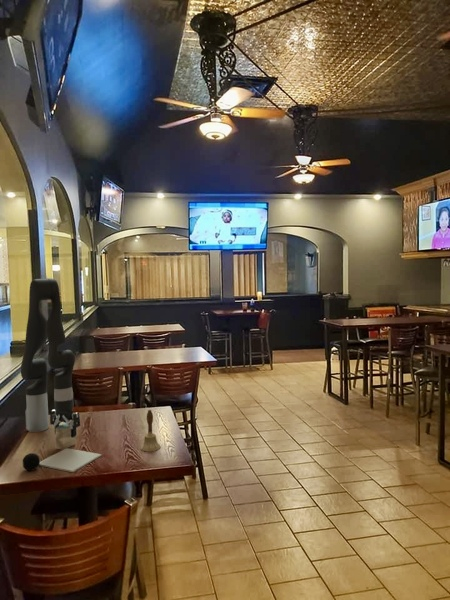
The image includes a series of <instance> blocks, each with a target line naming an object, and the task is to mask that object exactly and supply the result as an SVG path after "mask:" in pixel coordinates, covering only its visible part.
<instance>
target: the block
mask: <svg viewBox="0 0 450 600" xmlns="http://www.w3.org/2000/svg"><path fill="white" fill-rule="evenodd" d="M72 425H73V424H72ZM55 430H56V435H55V446H56V447H55V448H56V449H57V450H61V451H62V450H64V449H66V448H68V449H69V448H71V447H72V446H74V445H76V444H77V443H76V436H75V437H73V438H72V437H71V427H70V426H69V425H68V424H67V423H65V422H64V423H62V424H60V426H58V427H56V428H55V427H54V431H55Z"/></svg>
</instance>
